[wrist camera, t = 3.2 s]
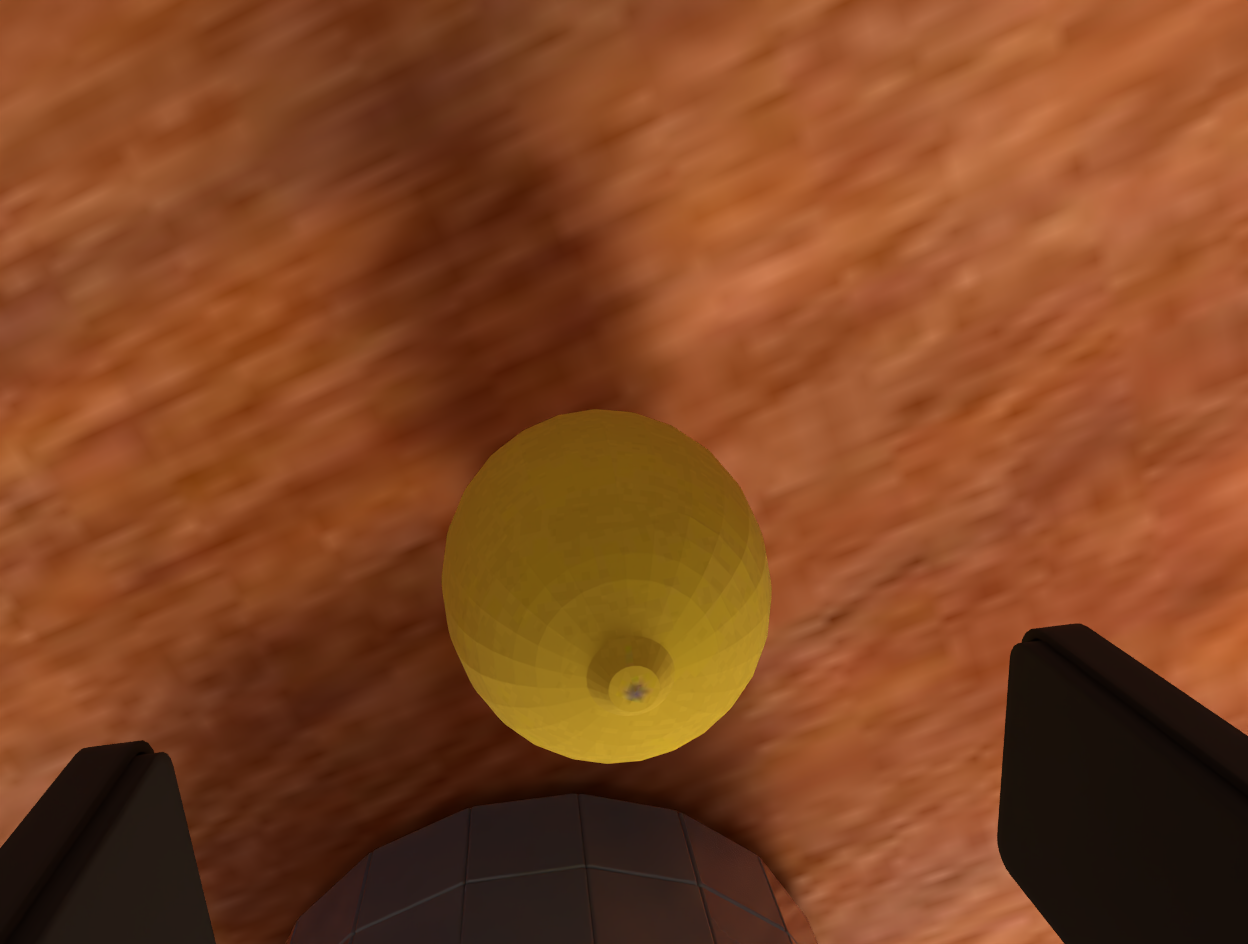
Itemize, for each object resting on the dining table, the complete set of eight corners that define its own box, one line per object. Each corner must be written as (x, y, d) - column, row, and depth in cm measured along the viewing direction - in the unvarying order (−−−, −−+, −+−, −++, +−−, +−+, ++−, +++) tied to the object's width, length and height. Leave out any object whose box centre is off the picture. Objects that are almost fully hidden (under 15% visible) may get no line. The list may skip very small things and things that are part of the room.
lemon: (475, 631, 19) (451, 897, 12) (440, 388, 18) (386, 516, 10) (716, 600, 20) (842, 836, 12) (704, 361, 18) (839, 464, 11)
